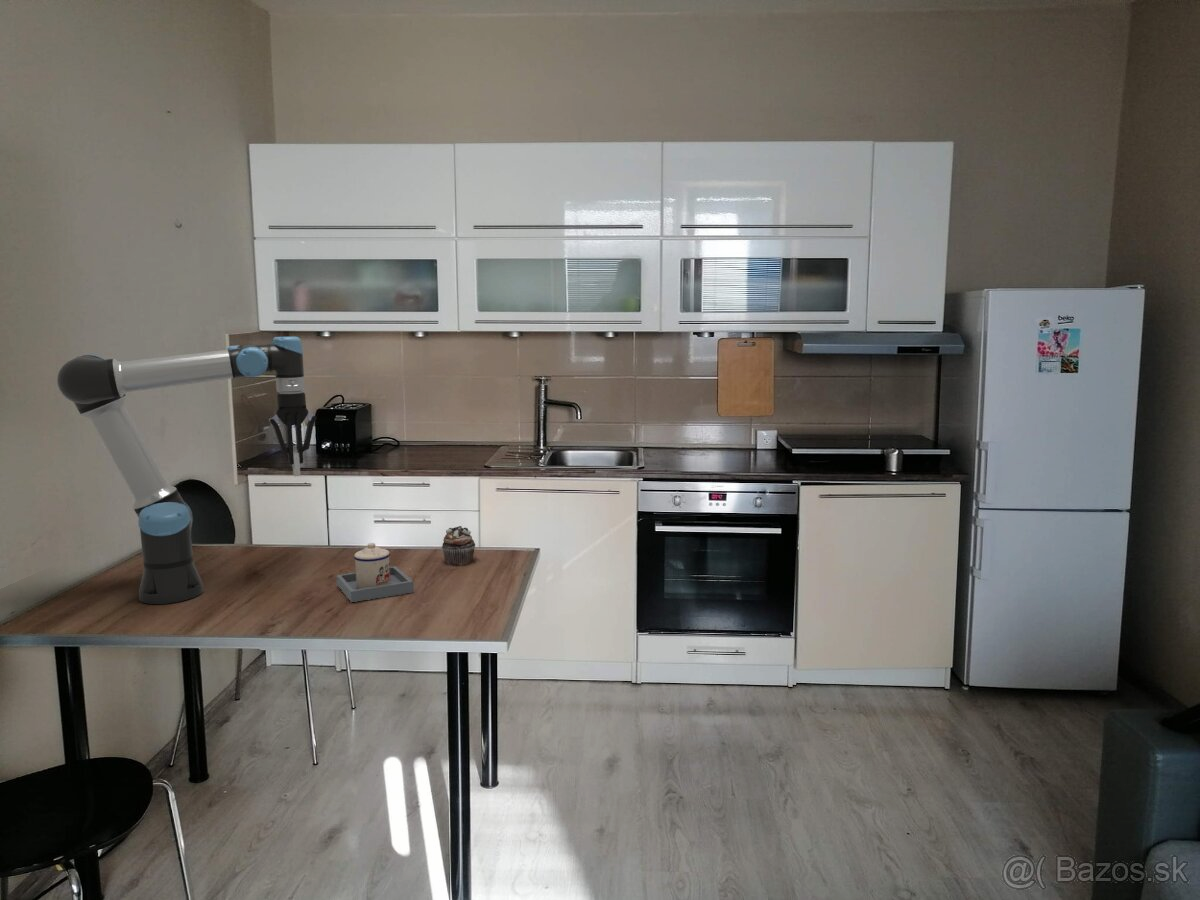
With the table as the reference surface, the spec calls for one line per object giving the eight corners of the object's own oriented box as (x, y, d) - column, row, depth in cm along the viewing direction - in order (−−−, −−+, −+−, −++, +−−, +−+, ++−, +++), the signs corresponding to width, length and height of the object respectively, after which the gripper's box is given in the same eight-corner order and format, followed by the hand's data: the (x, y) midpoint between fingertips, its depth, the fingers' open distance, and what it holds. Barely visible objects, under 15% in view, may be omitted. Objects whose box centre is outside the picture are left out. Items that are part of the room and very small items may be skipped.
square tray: (351, 603, 226) (350, 591, 225) (337, 586, 240) (336, 575, 239) (413, 592, 233) (413, 581, 233) (396, 576, 247) (395, 566, 247)
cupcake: (435, 562, 260) (433, 528, 259) (461, 555, 268) (459, 522, 266) (456, 568, 254) (455, 533, 253) (482, 560, 261) (481, 527, 260)
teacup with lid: (381, 593, 230) (379, 549, 228) (349, 591, 232) (346, 547, 230) (402, 579, 241) (400, 537, 239) (371, 577, 243) (368, 535, 241)
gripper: (268, 394, 245) (275, 479, 249) (317, 391, 251) (323, 475, 255) (264, 392, 251) (270, 475, 255) (312, 389, 257) (317, 470, 261)
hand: (296, 475), depth 255 cm, fingers closed
